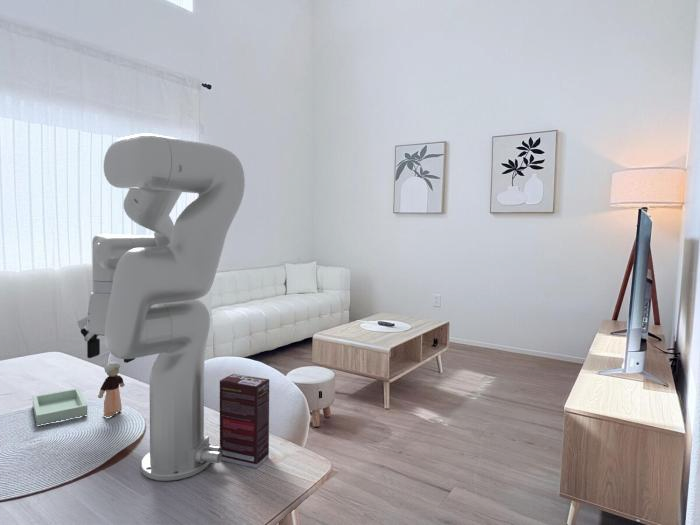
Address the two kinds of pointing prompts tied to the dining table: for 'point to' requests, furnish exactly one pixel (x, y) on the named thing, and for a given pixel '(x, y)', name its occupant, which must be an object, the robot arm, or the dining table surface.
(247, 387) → the supplement box
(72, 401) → the tray
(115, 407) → the grandmother figurine
